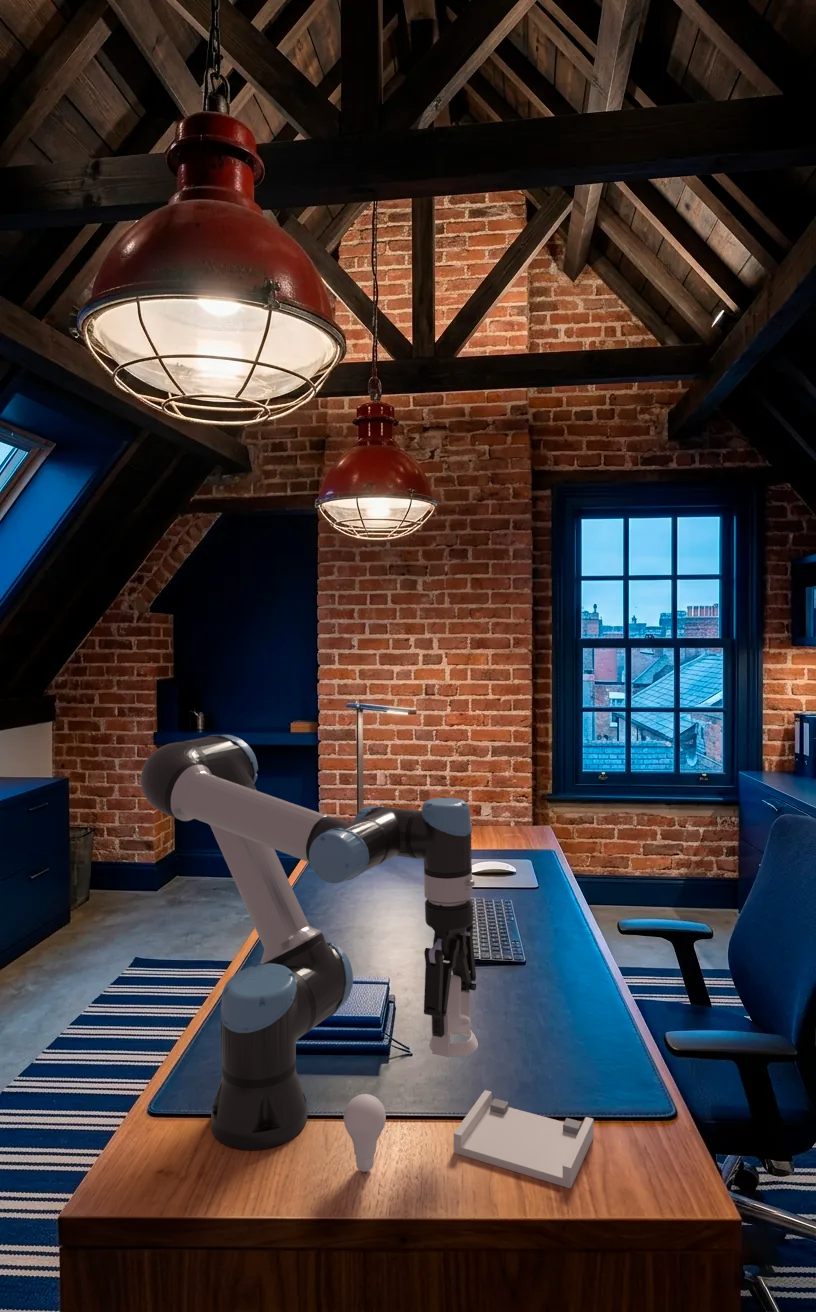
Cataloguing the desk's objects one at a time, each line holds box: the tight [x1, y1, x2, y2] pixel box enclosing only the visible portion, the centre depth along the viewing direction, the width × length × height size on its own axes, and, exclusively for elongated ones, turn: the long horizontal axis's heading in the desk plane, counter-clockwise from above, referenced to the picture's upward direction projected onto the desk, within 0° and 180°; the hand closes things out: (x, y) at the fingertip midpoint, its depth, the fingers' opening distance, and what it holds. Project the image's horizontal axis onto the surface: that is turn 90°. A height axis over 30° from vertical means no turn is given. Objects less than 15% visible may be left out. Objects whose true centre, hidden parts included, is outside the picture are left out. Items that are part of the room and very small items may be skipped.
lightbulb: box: [343, 1093, 387, 1173], centre depth 123 cm, size 6×6×11 cm
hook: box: [428, 974, 479, 1058], centre depth 134 cm, size 8×12×7 cm
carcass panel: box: [453, 1089, 595, 1189], centre depth 129 cm, size 18×13×3 cm
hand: (452, 1041), depth 133 cm, fingers closed on hook, 8 cm apart
